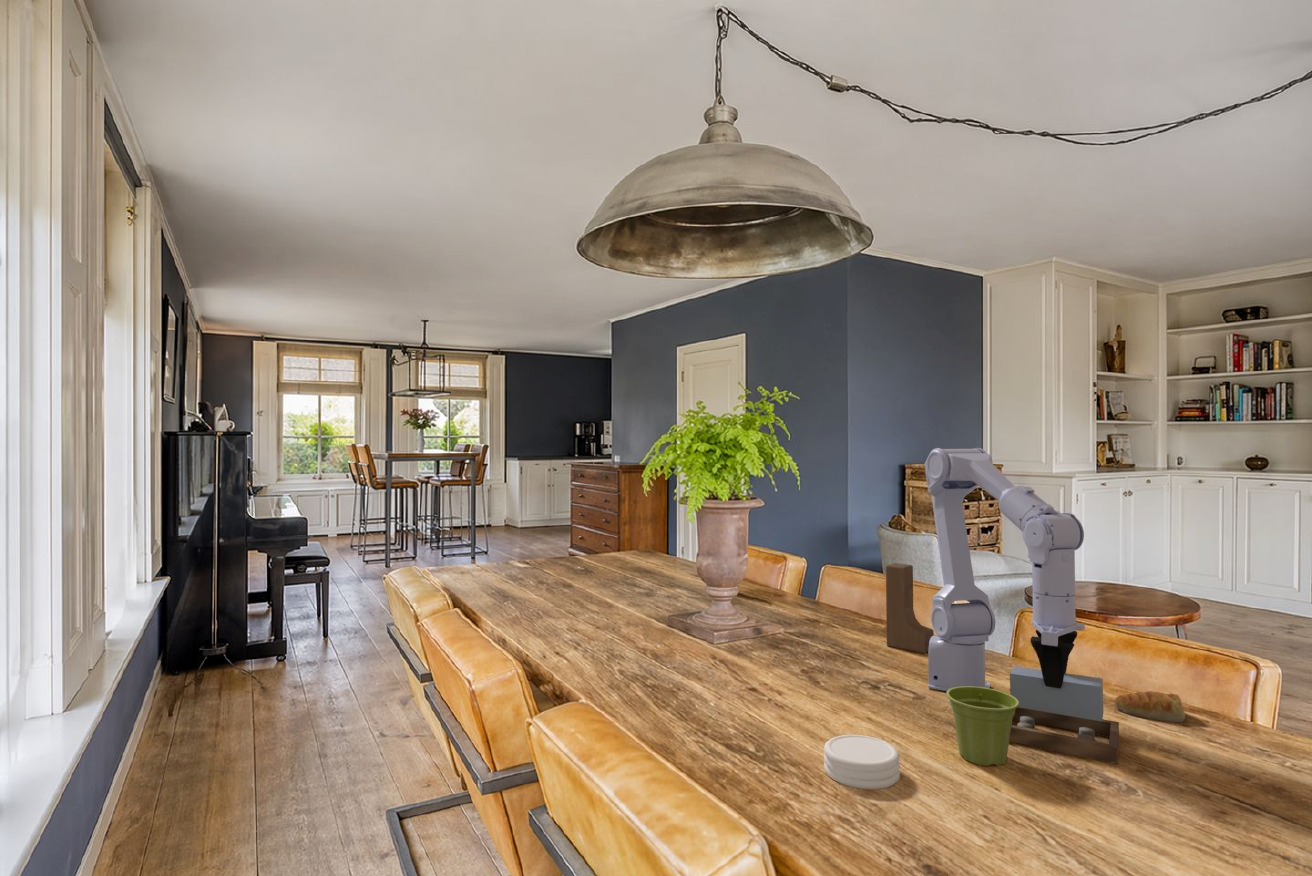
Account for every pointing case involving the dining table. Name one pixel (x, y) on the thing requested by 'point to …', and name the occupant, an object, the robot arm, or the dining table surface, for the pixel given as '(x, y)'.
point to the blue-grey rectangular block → (1058, 694)
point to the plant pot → (982, 723)
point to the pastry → (1152, 705)
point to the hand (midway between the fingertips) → (1054, 682)
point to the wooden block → (903, 611)
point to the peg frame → (1063, 743)
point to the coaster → (861, 761)
